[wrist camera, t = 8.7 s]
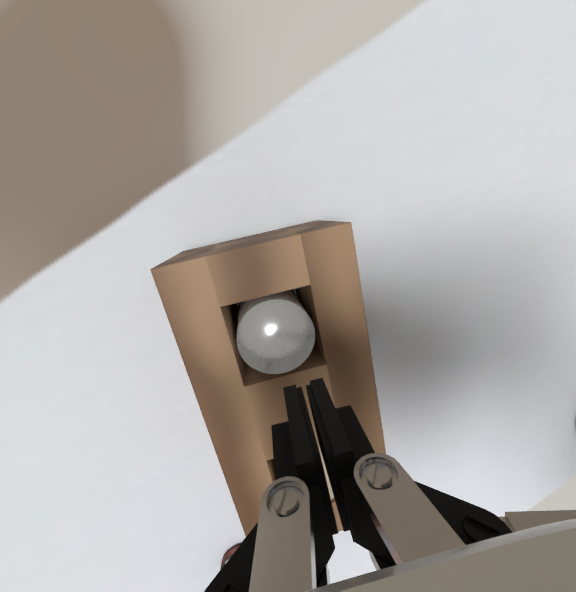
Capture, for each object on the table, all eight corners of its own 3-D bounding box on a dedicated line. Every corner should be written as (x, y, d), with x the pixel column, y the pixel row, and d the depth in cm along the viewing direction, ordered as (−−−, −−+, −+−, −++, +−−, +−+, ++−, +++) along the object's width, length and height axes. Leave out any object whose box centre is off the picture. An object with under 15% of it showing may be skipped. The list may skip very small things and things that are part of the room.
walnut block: (316, 220, 26) (351, 222, 18) (356, 436, 33) (395, 513, 24) (183, 251, 25) (150, 269, 17) (251, 466, 32) (253, 557, 24)
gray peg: (287, 267, 27) (306, 292, 18) (298, 318, 28) (321, 362, 20) (233, 280, 26) (227, 312, 18) (247, 331, 28) (247, 382, 19)
